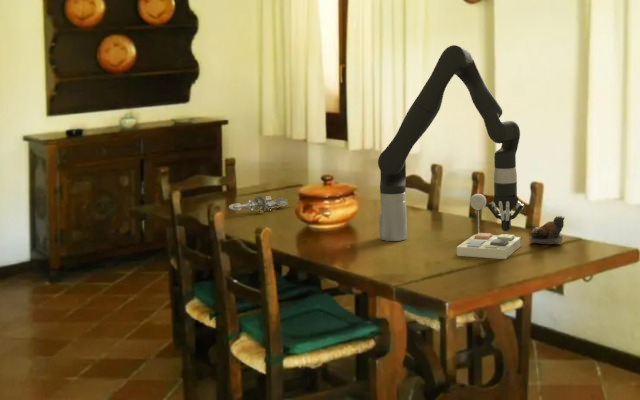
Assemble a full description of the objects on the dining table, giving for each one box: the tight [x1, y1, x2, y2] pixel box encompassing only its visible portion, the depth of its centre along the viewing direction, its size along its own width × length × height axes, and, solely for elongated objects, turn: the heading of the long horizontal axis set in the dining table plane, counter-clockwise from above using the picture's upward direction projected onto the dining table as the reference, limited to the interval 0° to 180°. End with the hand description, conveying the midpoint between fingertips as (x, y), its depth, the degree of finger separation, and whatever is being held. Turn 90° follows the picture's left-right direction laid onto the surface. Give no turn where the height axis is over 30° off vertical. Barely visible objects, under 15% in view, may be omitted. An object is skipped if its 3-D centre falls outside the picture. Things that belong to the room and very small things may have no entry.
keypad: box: [456, 233, 522, 260], centre depth 303 cm, size 16×20×3 cm
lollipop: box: [469, 193, 487, 234], centre depth 327 cm, size 6×6×15 cm
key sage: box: [497, 233, 515, 241], centre depth 306 cm, size 5×5×2 cm
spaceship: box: [228, 195, 290, 212], centre depth 387 cm, size 8×35×8 cm
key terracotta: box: [474, 232, 493, 240], centre depth 310 cm, size 5×5×2 cm
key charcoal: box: [490, 239, 508, 246], centre depth 299 cm, size 5×5×2 cm
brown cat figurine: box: [529, 215, 565, 245], centre depth 308 cm, size 12×7×10 cm, turn 56°
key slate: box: [467, 240, 485, 245], centre depth 303 cm, size 5×5×2 cm
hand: (506, 230), depth 306 cm, fingers closed
